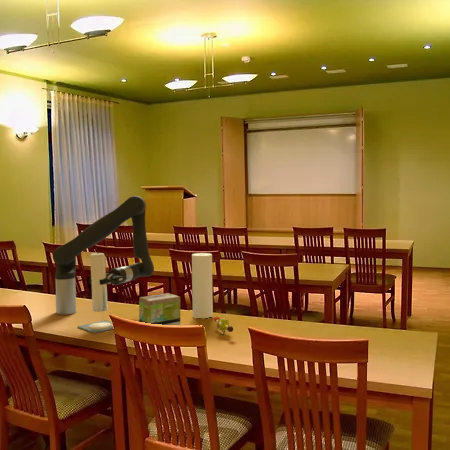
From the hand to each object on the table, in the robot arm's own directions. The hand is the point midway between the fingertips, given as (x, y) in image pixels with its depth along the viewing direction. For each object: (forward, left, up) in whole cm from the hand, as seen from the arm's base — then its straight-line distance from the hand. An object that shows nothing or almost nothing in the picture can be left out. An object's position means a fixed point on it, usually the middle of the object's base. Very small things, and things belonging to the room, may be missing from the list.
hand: (95, 281), depth 219 cm
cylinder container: (+19, +45, -21) cm, 53 cm away
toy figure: (+46, +31, -21) cm, 60 cm away
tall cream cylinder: (-1, +3, -13) cm, 13 cm away
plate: (-1, +2, -21) cm, 21 cm away
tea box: (+22, +17, -21) cm, 35 cm away
